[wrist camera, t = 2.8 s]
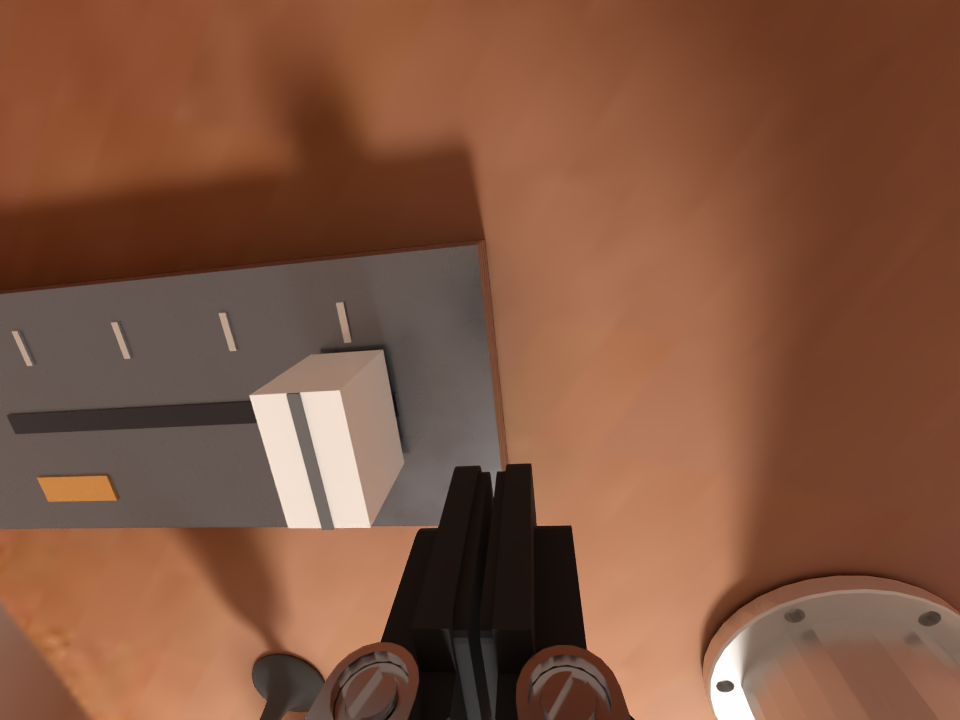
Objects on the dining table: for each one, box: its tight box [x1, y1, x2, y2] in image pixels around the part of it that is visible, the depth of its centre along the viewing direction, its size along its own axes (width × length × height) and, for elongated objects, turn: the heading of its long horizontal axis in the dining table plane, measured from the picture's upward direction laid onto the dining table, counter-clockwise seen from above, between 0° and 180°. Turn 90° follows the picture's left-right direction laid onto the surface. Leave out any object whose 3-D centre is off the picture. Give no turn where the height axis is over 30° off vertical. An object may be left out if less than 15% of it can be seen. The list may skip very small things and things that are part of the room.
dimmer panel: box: [0, 239, 508, 529], centre depth 21 cm, size 27×12×3 cm, turn 97°
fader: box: [249, 350, 404, 530], centre depth 16 cm, size 3×5×4 cm, turn 7°
